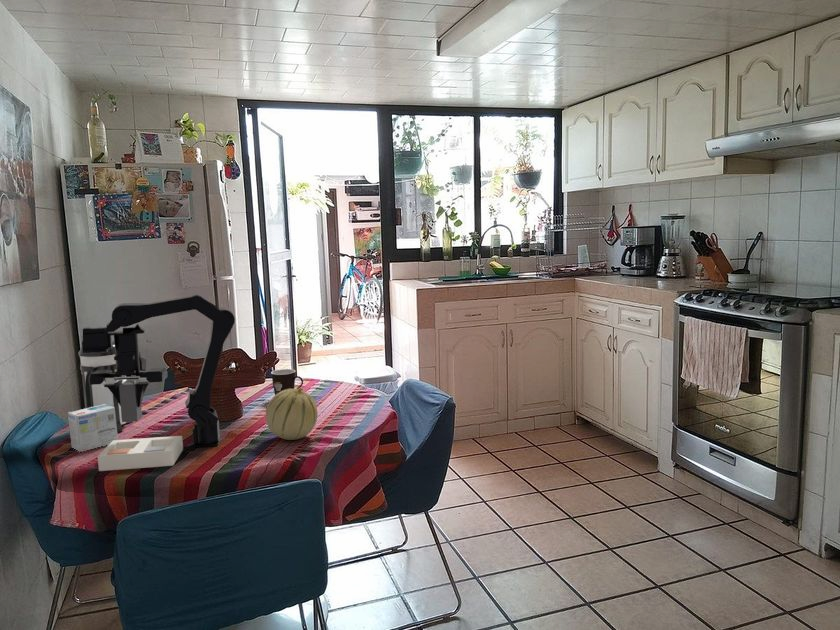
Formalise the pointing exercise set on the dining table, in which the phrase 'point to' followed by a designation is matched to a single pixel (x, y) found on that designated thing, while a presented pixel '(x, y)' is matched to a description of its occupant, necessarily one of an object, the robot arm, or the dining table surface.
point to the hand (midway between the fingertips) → (131, 406)
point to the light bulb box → (92, 427)
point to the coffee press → (98, 392)
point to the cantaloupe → (291, 414)
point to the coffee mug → (284, 380)
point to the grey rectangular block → (129, 402)
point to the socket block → (140, 453)
